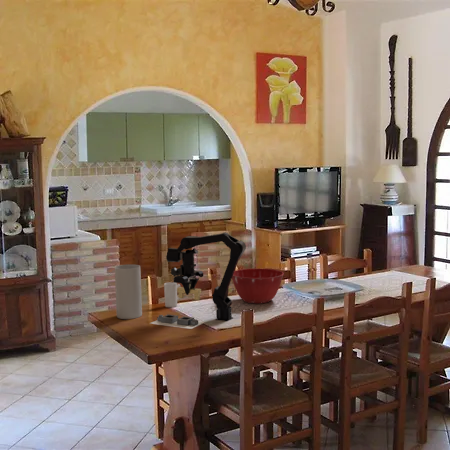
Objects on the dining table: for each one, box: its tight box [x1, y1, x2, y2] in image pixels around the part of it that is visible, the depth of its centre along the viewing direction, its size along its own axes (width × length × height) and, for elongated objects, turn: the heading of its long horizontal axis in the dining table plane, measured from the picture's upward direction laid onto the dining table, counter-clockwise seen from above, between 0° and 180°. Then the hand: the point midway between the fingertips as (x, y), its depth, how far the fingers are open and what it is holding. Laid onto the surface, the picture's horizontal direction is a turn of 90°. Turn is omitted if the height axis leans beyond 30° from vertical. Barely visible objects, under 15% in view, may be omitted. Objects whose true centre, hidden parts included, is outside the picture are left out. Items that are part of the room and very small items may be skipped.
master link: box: [177, 286, 202, 301], centre depth 308 cm, size 12×3×5 cm, turn 62°
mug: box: [163, 281, 182, 308], centre depth 334 cm, size 10×7×12 cm, turn 124°
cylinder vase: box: [114, 264, 143, 320], centre depth 313 cm, size 12×12×25 cm
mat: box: [149, 317, 206, 330], centre depth 299 cm, size 23×13×1 cm, turn 62°
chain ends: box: [157, 313, 199, 327], centre depth 299 cm, size 21×6×2 cm, turn 62°
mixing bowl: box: [231, 268, 284, 305], centre depth 340 cm, size 28×28×16 cm
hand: (189, 294), depth 308 cm, fingers closed on master link, 3 cm apart
